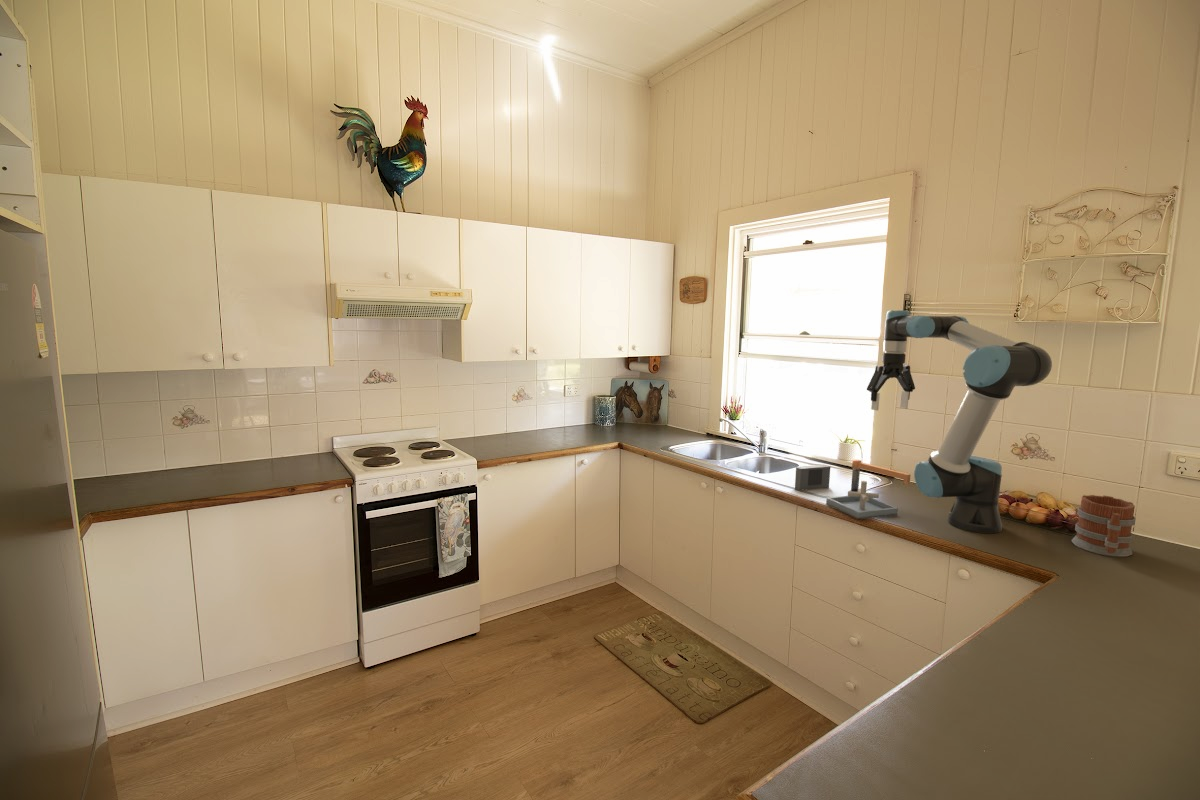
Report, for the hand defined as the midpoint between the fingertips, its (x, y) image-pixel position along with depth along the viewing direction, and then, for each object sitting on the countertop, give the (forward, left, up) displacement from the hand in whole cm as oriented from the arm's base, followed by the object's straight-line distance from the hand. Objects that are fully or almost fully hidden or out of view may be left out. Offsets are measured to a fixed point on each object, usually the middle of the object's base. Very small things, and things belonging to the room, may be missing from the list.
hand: (889, 409), depth 214 cm
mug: (-59, -27, -35) cm, 73 cm away
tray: (-8, +17, -35) cm, 40 cm away
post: (+8, +6, -35) cm, 36 cm away
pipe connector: (-9, +17, -34) cm, 39 cm away
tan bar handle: (-2, +4, -25) cm, 26 cm away
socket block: (+18, +18, -35) cm, 43 cm away
